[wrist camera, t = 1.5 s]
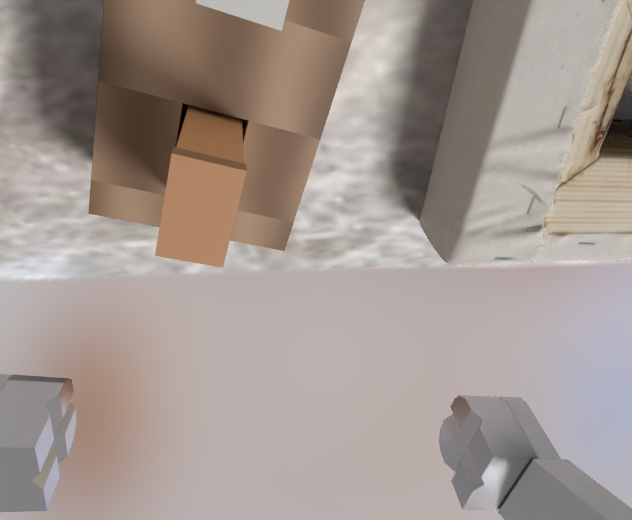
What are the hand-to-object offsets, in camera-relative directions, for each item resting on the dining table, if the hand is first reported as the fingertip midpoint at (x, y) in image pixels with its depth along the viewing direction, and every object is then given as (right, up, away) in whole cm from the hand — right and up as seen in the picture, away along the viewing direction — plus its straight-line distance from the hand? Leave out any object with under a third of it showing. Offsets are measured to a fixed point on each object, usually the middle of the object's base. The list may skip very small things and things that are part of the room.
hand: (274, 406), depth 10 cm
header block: (-5, +17, +19) cm, 26 cm away
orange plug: (-6, +11, +20) cm, 24 cm away
